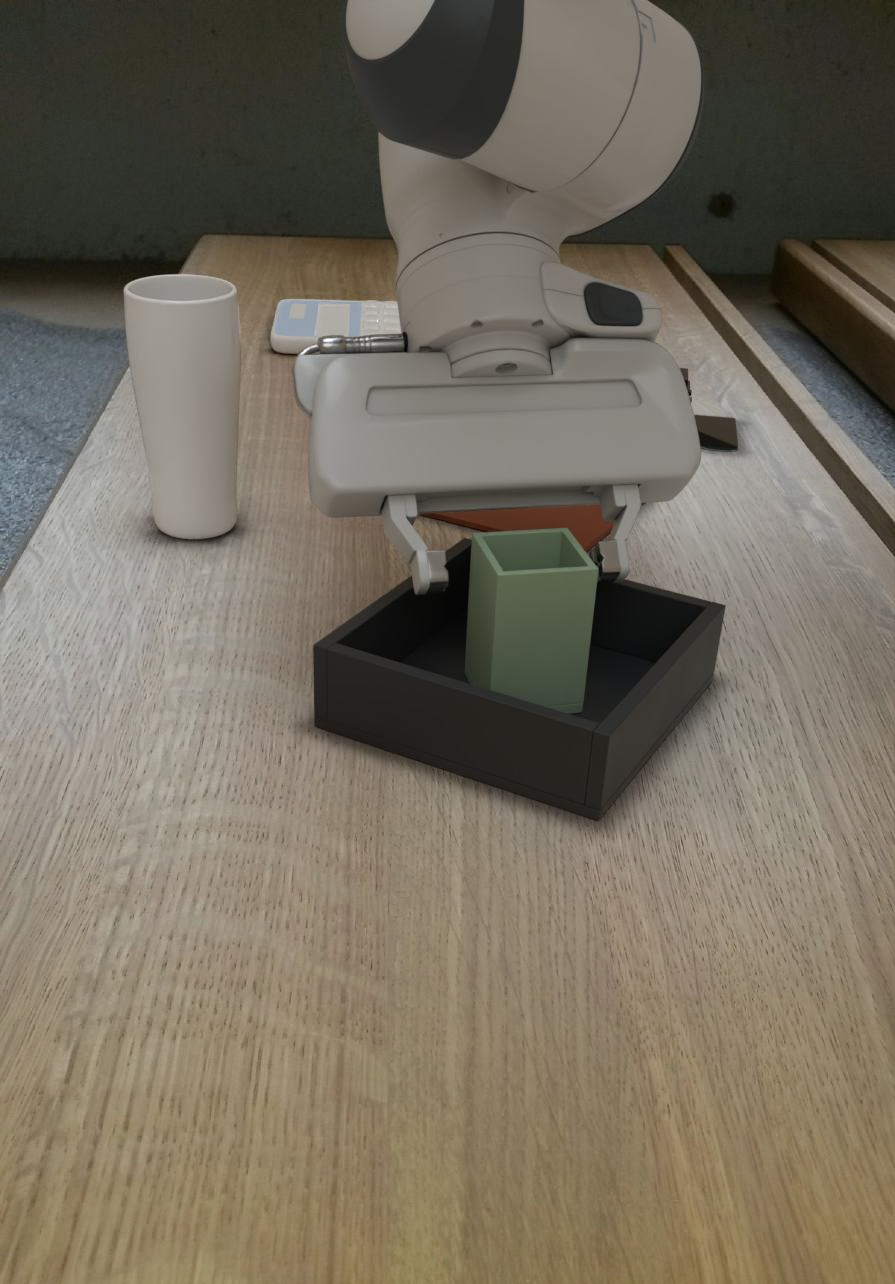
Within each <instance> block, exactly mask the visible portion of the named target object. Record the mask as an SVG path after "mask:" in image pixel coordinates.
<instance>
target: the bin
mask: <svg viewBox="0 0 895 1284" xmlns="http://www.w3.org/2000/svg"><path fill="white" fill-rule="evenodd" d="M471 545H472V538H467V537H464V538H462V539H460V540H459V541H458V542H457V543H455V544H454V545H453V546H450V547H449V548H448V549H447V550H445V554H446V561H447V563H446V565H445V568H446V569H447V571H448V576H449V583H448V587H447V588H446V589H445V592H444V593H439V594H424V595H416V594H415V592H414V587H413V579H412V574H411V575H409V576H408V577H407V578H406V579H404V580H403V581H401V582H400V583H399V584H397V585H395V587H393V588H391V589H390V590H389V591H387V592H386V593H385V594H383V595H382V596H381V597H379V598H377V599H376V600H375V601H373V602H371V603H370V604H369V605H367V606H366V607H365V608H364V609H362V610H361V611H359V612H357V613H356V614H355V615H353V616H352V617H350V618H349V619H348V620H346V621H345V622H344V623H342V624H341V625H339V626H338V627H337V628H335V629H333V630H332V631H331V632H329V633H328V634H327V635H325V636H324V637H323V638H321V639H320V640H318V641H316V643H314V644H313V645H312V649H313V650H312V655H313V657H312V658H313V659H312V660H313V663H312V665H313V709H314V710H313V714H314V715H313V716H314V717H313V718H314V720H313V721H314V722H313V723H314V724H313V725H314V726H315V727H317V728H319V729H322V730H326V731H329V732H332V733H334V734H338V735H340V736H343V737H344V736H345V737H346V738H349V739H352V740H355V741H358V742H361V743H365V744H368V745H370V746H372V747H373V746H374V747H377V748H380V749H383V750H386V751H389V752H392V753H394V754H397V755H401V756H404V757H406V758H410V759H413V760H415V761H418V762H422V763H424V764H427V765H430V766H434V767H436V768H439V769H442V770H445V771H448V772H451V773H454V774H458V775H461V776H464V777H466V778H470V779H472V780H476V781H479V782H482V783H483V784H488V785H490V786H494V787H497V788H500V789H503V790H505V791H508V792H512V793H515V794H518V795H521V796H523V797H526V798H529V799H532V800H534V801H535V800H536V801H538V802H541V803H544V804H547V805H550V806H554V807H557V808H559V809H562V810H565V811H569V812H572V813H574V814H578V815H581V816H583V817H587V818H589V819H593V820H596V821H600V820H601V818H602V817H604V815H605V814H606V812H607V811H608V810H609V809H610V808H611V806H612V805H613V804H614V803H615V802H616V800H617V799H618V798H619V797H620V795H621V794H622V793H623V791H625V789H626V788H627V787H628V786H629V784H631V782H632V781H633V779H634V778H635V777H636V776H637V774H638V773H639V772H640V771H641V769H643V767H644V766H645V765H646V763H648V761H649V760H650V759H651V757H652V756H653V755H654V753H656V751H657V750H658V749H659V748H660V746H661V745H662V744H663V743H664V742H665V740H666V739H667V738H668V736H669V735H670V734H671V733H672V731H673V730H674V729H675V728H676V727H677V726H678V725H679V724H680V722H681V721H682V720H683V718H684V717H685V716H686V714H687V713H688V712H689V711H690V710H691V708H692V707H693V706H694V705H695V704H696V702H697V701H698V700H699V699H700V697H701V696H702V695H703V694H704V692H706V690H707V688H709V686H710V685H711V684H712V682H714V676H715V670H716V665H717V658H718V652H719V648H720V647H719V646H720V642H721V637H722V631H723V624H724V618H725V614H726V613H725V612H726V607H727V605H726V604H723V603H719V602H716V601H710V600H707V599H702V598H699V597H695V596H692V595H687V594H683V593H680V592H676V591H671V590H667V589H664V588H662V587H661V588H660V587H656V586H652V585H649V584H645V583H641V582H637V581H633V580H630V579H626V578H625V579H624V580H623V582H617V583H597V587H596V596H595V605H594V614H593V623H592V631H591V640H590V649H589V658H588V667H587V676H586V685H585V694H584V702H583V710H582V713H573V714H567V713H564V712H561V711H558V710H554V709H551V708H548V707H544V706H541V705H538V704H534V703H531V702H528V701H525V700H521V699H518V698H515V697H511V696H508V695H505V694H502V693H498V692H495V691H492V690H488V689H485V688H482V687H479V686H475V685H472V684H470V683H469V681H468V679H467V677H466V675H465V654H466V636H467V618H468V600H469V582H470V563H471Z"/></svg>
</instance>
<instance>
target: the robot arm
mask: <svg viewBox="0 0 895 1284" xmlns="http://www.w3.org/2000/svg"><path fill="white" fill-rule="evenodd" d="M341 34H342V42H343V48H344V53H345V58H346V62H347V65H348V70H349V74H350V77H351V79H352V82H353V86H354V88H355V91H356V93H357V96H358V98H359V100H360V102H361V105H362V107H363V109H364V111H365V113H366V115H367V117H368V118H369V120H370V122H371V123H372V125H373V126H374V128H375V129H376V131H377V137H378V138H377V142H378V163H379V175H380V185H381V194H382V202H383V208H384V216H385V221H386V225H387V227H388V230H389V232H390V235H391V237H392V239H393V241H394V243H395V246H396V249H397V265H396V271H395V277H394V278H395V279H394V290H395V297H396V301H397V305H398V312H399V320H400V327H401V334H373V335H369V336H368V335H365V336H359V337H344V336H343V335H329V336H323V337H320V338H318V343H317V344H313V345H310V346H308V347H306V348H304V349H303V350H302V351H301V352H300V353H299V354H296V356H295V358H294V360H293V363H292V366H291V378H292V379H291V380H292V388H293V396H294V400H295V403H296V405H297V407H298V408H299V410H300V411H301V412H302V414H304V415H305V416H306V417H307V418H308V419H309V427H308V440H307V441H308V445H307V473H308V474H307V476H308V490H309V491H308V492H309V498H310V501H311V503H312V505H314V506H315V507H316V508H317V509H318V511H319V512H320V513H322V514H323V515H324V516H325V517H327V518H331V519H338V518H339V519H341V518H359V517H361V518H363V517H380V516H381V517H382V523H383V531H384V536H385V537H386V539H388V541H389V542H390V543H391V544H392V546H393V547H394V549H396V551H397V552H398V553H399V554H400V556H401V557H402V558H403V559H404V561H405V562H406V563H407V564H408V565H410V571H411V575H412V579H413V587H414V592H415V594H416V595H424V594H439V593H444V592H445V589H446V588H447V587H448V583H449V576H448V571H447V569H446V568H445V565H446V563H447V561H446V554H445V551H446V550H445V549H429V547H428V546H427V544H426V543H425V542H424V541H423V539H422V538H421V535H420V534H419V533H418V532H417V531H416V529H415V528H414V525H415V522H416V520H417V517H418V515H420V514H423V513H443V512H464V511H485V510H505V509H525V508H545V507H566V506H586V505H601V509H602V515H603V521H605V522H612V521H613V520H614V525H613V528H612V530H611V532H609V536H608V538H607V540H600V541H599V542H597V543H596V544H595V545H594V548H591V549H590V551H589V553H588V556H589V557H590V558H591V560H592V561H593V562H594V564H595V565H596V566H597V568H598V578H597V583H617V582H623V580H624V579H626V578H627V577H628V576H629V575H630V566H631V565H630V560H629V553H628V548H627V541H628V540H629V538H630V534H631V532H632V530H633V527H634V525H635V523H636V521H637V518H638V516H639V513H640V510H641V508H642V505H641V503H644V504H646V503H663V502H664V503H665V502H670V501H672V500H674V499H675V498H677V497H678V496H679V494H680V493H682V491H683V490H684V489H685V488H686V487H687V486H688V484H689V483H690V482H691V481H692V479H693V478H694V477H695V475H696V473H697V471H698V469H699V467H700V465H701V461H702V448H700V441H699V436H698V431H697V426H696V421H695V417H694V414H695V413H694V409H693V405H692V402H691V401H690V398H689V394H688V391H687V388H686V384H685V381H684V378H683V375H682V373H681V370H680V368H681V367H680V366H679V364H678V362H677V361H676V358H674V356H673V355H672V354H671V353H670V352H669V350H668V349H666V348H665V347H664V346H663V345H661V344H660V343H657V342H656V340H657V337H658V335H659V333H660V331H661V328H662V325H663V312H662V308H661V304H660V302H659V301H658V299H657V298H656V297H655V296H653V295H652V294H650V293H648V292H646V291H642V290H639V289H636V288H632V287H628V286H625V285H621V284H618V283H614V282H610V281H608V280H605V279H601V278H598V277H595V276H592V275H590V274H587V273H584V272H582V271H579V270H577V269H574V268H572V267H570V266H568V265H565V264H563V263H562V259H561V254H560V246H561V245H562V244H563V242H564V240H565V239H566V238H575V237H580V236H583V235H587V234H588V233H591V232H593V231H595V230H597V229H600V228H601V227H604V226H606V225H608V224H610V223H611V222H613V221H615V220H618V219H619V218H621V217H623V216H625V215H626V214H628V213H629V212H632V211H633V210H635V209H636V208H639V207H640V206H641V205H643V204H645V203H646V202H648V201H649V200H650V199H652V198H653V197H655V196H656V195H658V193H660V192H661V191H663V189H664V188H665V187H666V186H667V185H668V184H669V183H671V181H672V180H673V179H674V178H675V176H676V175H677V174H678V172H680V170H681V169H682V167H683V165H684V164H685V162H686V160H687V158H688V157H689V154H690V153H691V151H692V148H693V146H694V144H695V140H696V137H697V134H698V132H699V129H700V128H699V127H700V124H701V120H702V115H703V109H704V100H705V72H704V64H703V60H702V59H703V58H702V54H701V51H700V47H699V45H698V43H697V41H696V38H695V37H694V35H693V33H692V32H691V31H690V30H689V28H688V27H686V26H685V25H684V24H682V23H681V22H679V21H677V20H676V19H675V18H673V17H672V16H671V15H670V14H668V13H667V12H665V11H664V10H663V9H661V8H660V7H658V6H656V4H653V2H650V1H649V0H343V5H342V14H341ZM316 352H318V354H317V355H314V354H313V353H316Z"/></svg>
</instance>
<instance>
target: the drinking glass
mask: <svg viewBox="0 0 895 1284" xmlns="http://www.w3.org/2000/svg"><path fill="white" fill-rule="evenodd" d="M122 292H123V310H124V311H123V312H124V313H123V315H124V329H125V339H126V340H125V341H126V350H127V358H128V364H129V365H128V366H129V372H130V378H131V383H132V388H133V395H134V400H135V406H136V410H137V416H138V422H139V428H140V429H139V430H140V433H141V440H142V445H143V451H144V452H143V453H144V457H145V462H146V463H145V464H146V468H147V475H148V481H149V488H150V494H151V503H152V514H153V515H152V516H153V522H154V523H155V526H156V527H157V528H158V529H159V531H161V532H162V533H163V534H165V535H168V536H170V537H173V538H177V539H183V540H206V539H213V538H216V537H219V536H222V535H224V534H226V533H229V532H230V531H231V530H232V529H233V528H234V527H235V525H236V524H237V520H238V497H237V486H238V485H237V484H238V457H239V456H238V455H239V452H238V451H239V432H240V431H239V430H240V429H239V428H240V427H239V426H240V404H241V382H242V381H241V380H242V334H241V319H240V308H239V297H238V289H237V286H236V285H235V284H234V283H232V282H230V281H229V280H226V279H223V278H219V277H214V276H210V275H201V274H189V273H188V274H186V273H184V274H183V273H174V274H173V273H172V274H171V273H170V274H158V275H151V276H145V277H140V278H137V279H134V280H132V281H130V282H128V283H127V284H125V285H124V287H123V291H122Z"/></svg>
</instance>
